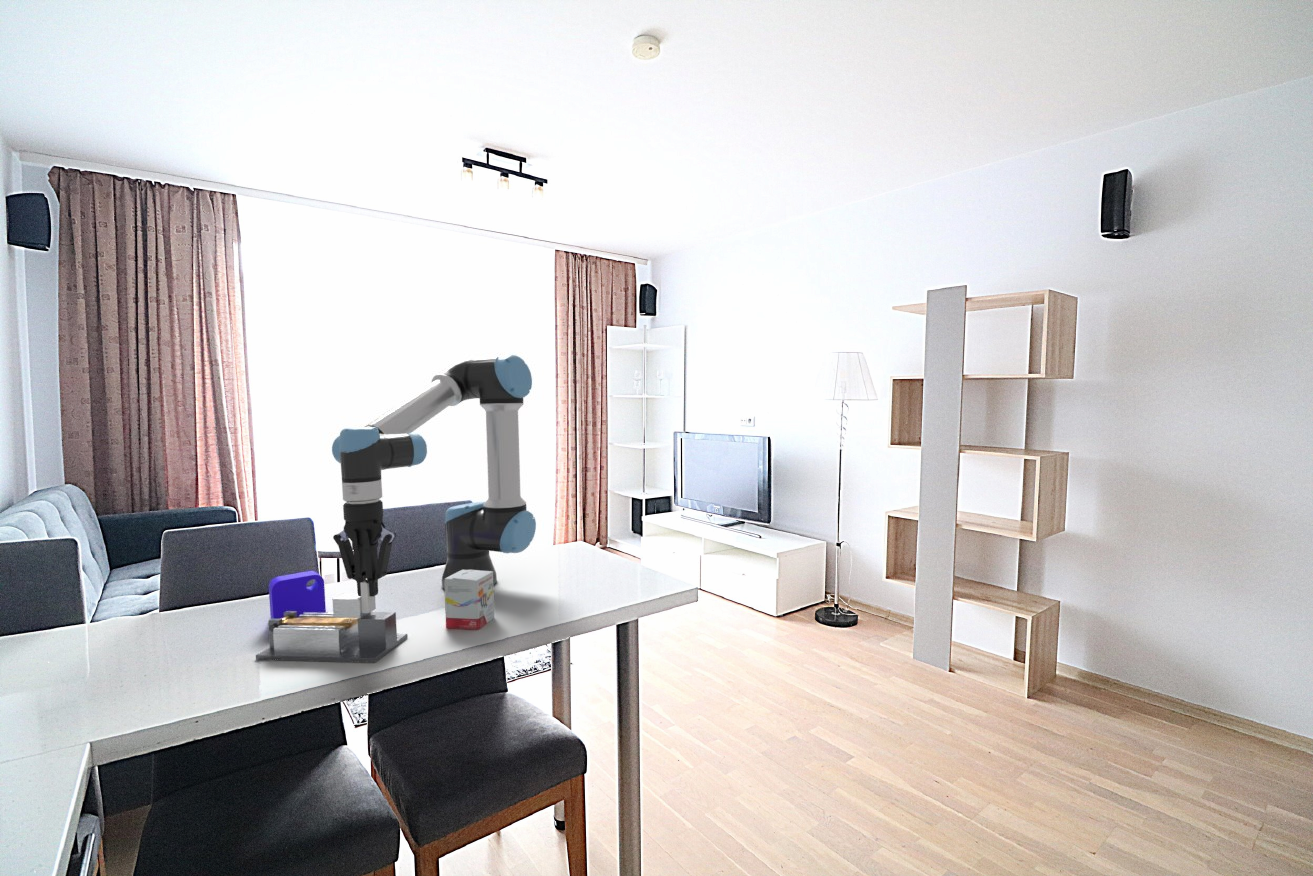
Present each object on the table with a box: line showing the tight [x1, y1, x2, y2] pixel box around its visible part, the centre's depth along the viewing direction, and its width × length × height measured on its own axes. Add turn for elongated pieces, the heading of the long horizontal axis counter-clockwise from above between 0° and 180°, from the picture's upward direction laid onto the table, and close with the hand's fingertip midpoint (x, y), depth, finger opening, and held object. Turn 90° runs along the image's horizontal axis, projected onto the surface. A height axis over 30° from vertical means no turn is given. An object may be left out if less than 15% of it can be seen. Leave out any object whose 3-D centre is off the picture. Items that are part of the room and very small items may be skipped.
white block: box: [332, 592, 368, 618], centre depth 132 cm, size 4×6×4 cm, turn 84°
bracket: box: [268, 570, 327, 619], centre depth 153 cm, size 18×11×12 cm, turn 40°
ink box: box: [444, 570, 495, 631], centre depth 146 cm, size 9×9×12 cm
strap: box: [280, 616, 358, 627], centre depth 133 cm, size 3×18×2 cm, turn 84°
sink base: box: [255, 611, 408, 664], centre depth 132 cm, size 13×26×7 cm, turn 84°
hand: (368, 610), depth 131 cm, fingers closed
